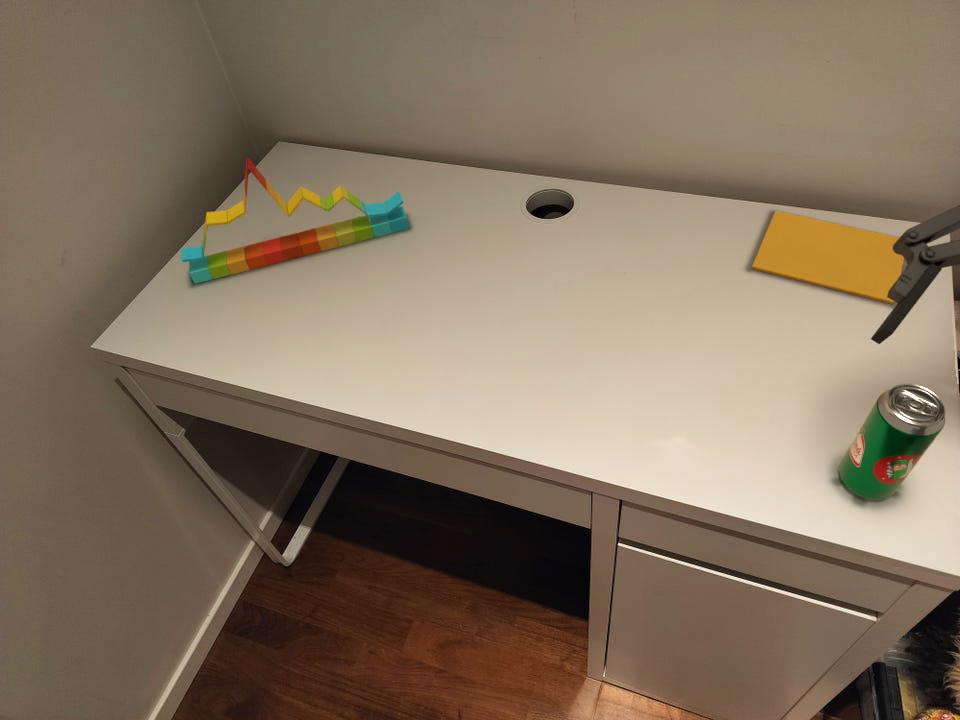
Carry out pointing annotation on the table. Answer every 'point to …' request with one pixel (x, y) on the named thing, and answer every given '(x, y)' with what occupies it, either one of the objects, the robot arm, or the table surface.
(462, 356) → the table surface
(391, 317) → the table surface
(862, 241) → the orange flat board
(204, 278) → the chart
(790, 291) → the table surface
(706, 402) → the table surface
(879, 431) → the soda can
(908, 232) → the robot arm
